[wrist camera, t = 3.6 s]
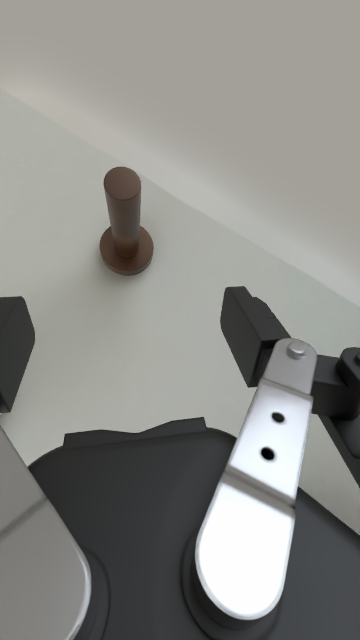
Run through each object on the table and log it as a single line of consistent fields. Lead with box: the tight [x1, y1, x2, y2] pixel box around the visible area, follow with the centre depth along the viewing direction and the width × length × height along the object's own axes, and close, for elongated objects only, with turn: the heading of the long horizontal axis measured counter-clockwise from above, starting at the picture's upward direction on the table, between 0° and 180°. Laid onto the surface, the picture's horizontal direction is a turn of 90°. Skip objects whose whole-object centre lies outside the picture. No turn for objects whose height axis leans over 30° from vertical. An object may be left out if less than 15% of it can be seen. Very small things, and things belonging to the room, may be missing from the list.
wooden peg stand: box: [100, 167, 153, 275], centre depth 22 cm, size 5×5×10 cm
